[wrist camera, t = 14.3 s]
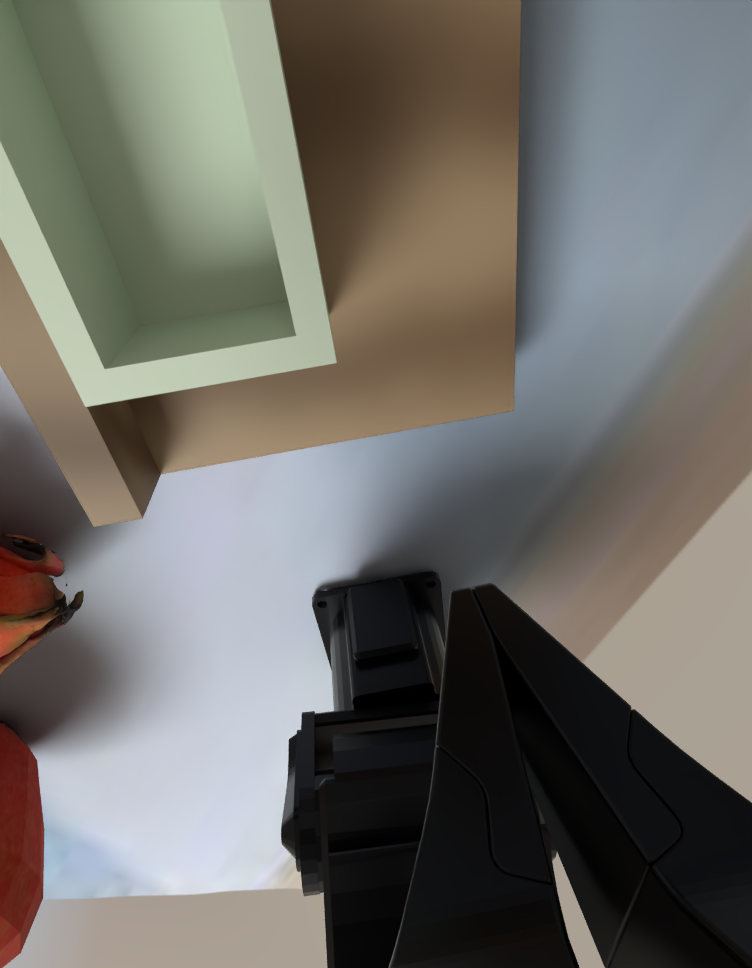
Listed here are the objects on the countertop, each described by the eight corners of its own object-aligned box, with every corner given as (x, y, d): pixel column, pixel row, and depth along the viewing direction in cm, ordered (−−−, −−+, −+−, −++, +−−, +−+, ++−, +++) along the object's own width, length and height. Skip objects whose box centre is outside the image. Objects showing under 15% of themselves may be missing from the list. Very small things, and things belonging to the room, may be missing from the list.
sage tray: (329, 314, 16) (336, 362, 12) (130, 349, 16) (85, 407, 12) (232, -204, 10) (199, -371, 7) (-81, -158, 10) (-273, -306, 7)
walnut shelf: (488, 378, 21) (540, 445, 16) (139, 439, 20) (94, 527, 16) (477, -446, 11) (612, -885, 6) (-219, -349, 10) (-634, -734, 6)
